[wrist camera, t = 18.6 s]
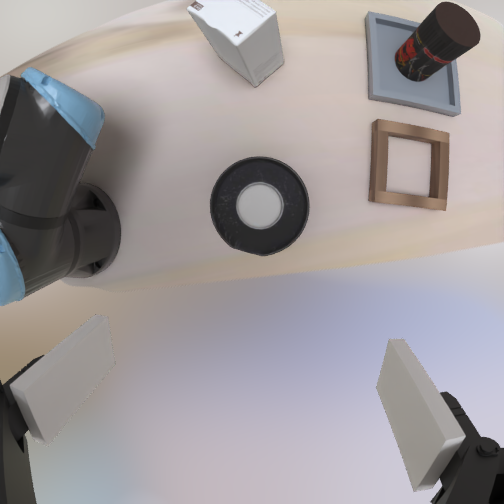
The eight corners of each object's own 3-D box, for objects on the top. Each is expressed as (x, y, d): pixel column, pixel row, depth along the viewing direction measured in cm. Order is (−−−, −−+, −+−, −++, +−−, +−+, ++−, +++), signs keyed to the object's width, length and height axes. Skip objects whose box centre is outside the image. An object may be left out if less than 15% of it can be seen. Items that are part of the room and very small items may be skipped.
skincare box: (284, 63, 38) (283, 12, 24) (253, 90, 40) (238, 48, 25) (243, 30, 38) (225, -26, 23) (213, 55, 39) (183, 7, 25)
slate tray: (368, 99, 38) (373, 94, 36) (364, 18, 35) (368, 11, 33) (453, 116, 37) (460, 113, 35) (445, 38, 34) (451, 33, 32)
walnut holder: (368, 200, 41) (374, 202, 38) (371, 123, 39) (377, 118, 36) (436, 209, 40) (445, 210, 37) (440, 135, 38) (449, 133, 35)
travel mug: (281, 158, 41) (277, 135, 22) (309, 207, 42) (329, 226, 23) (232, 186, 43) (189, 188, 23) (260, 234, 44) (240, 275, 24)
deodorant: (423, 89, 36) (475, 57, 21) (389, 67, 36) (430, 24, 21) (434, 60, 35) (483, 23, 20) (401, 39, 35) (440, -7, 20)
